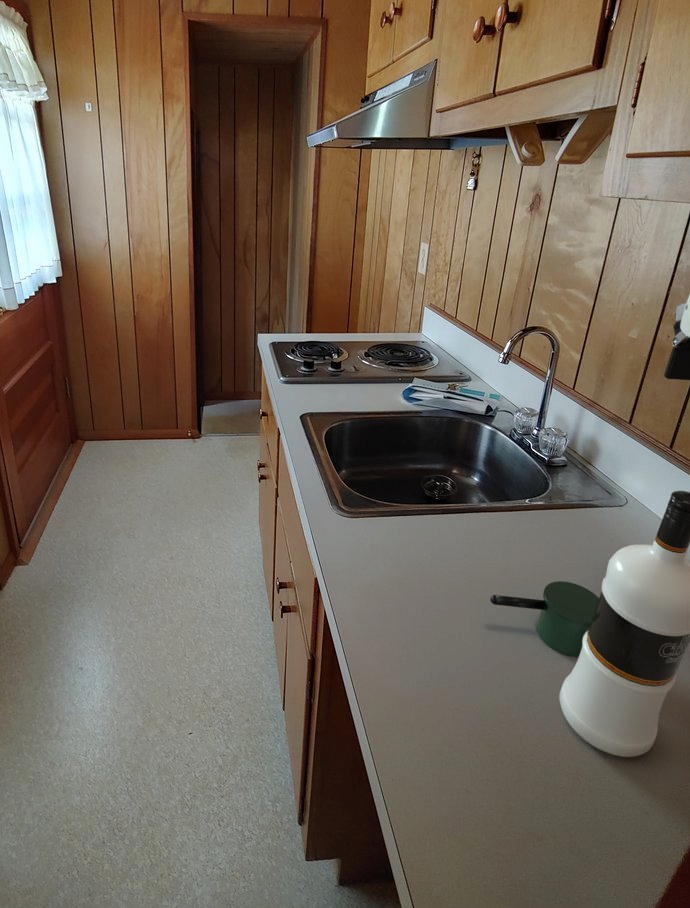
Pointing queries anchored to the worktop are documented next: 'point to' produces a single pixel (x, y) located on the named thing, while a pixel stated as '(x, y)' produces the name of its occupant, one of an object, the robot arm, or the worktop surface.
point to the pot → (559, 614)
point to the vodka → (634, 640)
